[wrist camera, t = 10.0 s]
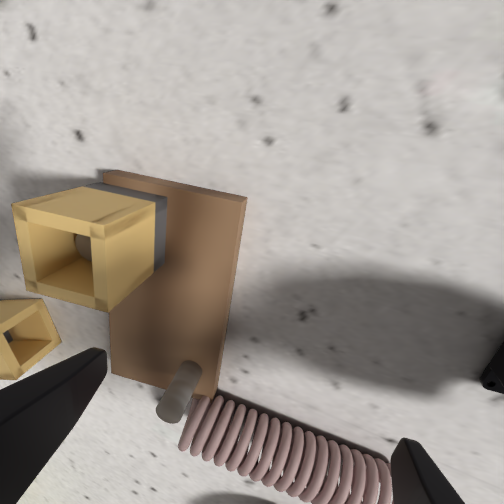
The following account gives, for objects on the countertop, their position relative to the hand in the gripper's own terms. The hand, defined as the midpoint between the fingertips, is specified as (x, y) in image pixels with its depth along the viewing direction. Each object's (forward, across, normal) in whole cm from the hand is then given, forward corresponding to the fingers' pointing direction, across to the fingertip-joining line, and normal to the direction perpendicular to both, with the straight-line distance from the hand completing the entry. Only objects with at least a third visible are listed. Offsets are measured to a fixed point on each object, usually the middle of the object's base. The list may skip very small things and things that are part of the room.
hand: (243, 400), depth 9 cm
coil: (+12, -4, +17) cm, 21 cm away
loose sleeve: (+10, +10, 0) cm, 14 cm away
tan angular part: (+10, +24, +14) cm, 30 cm away
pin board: (+12, +8, +6) cm, 15 cm away
